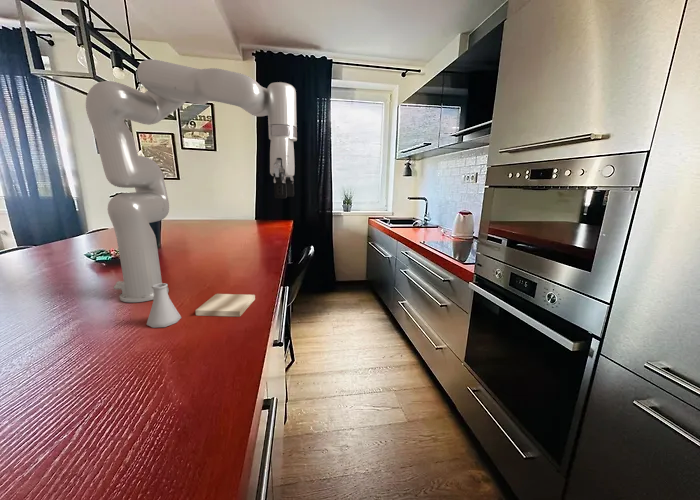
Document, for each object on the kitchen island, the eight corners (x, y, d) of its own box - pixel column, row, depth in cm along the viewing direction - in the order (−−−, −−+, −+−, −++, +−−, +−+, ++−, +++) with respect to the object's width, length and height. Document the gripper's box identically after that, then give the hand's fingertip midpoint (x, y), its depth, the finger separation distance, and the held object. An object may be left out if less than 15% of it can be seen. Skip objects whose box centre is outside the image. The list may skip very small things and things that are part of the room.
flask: (165, 330, 71) (160, 291, 69) (140, 326, 73) (134, 288, 70) (187, 317, 78) (183, 281, 76) (163, 314, 79) (159, 279, 77)
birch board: (195, 315, 79) (195, 310, 79) (216, 298, 91) (216, 293, 90) (240, 316, 79) (239, 311, 79) (255, 299, 91) (254, 294, 90)
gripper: (277, 138, 89) (279, 195, 93) (259, 128, 72) (262, 198, 76) (302, 139, 89) (303, 196, 93) (289, 128, 72) (291, 199, 76)
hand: (284, 197), depth 84 cm, fingers open, 9 cm apart
